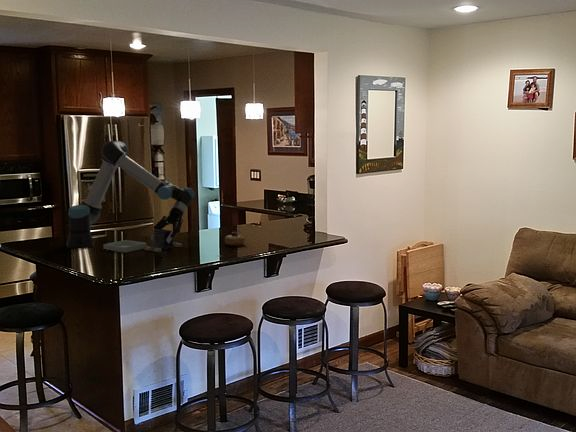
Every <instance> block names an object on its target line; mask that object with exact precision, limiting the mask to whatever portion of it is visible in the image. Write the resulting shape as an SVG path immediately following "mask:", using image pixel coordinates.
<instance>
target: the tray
mask: <svg viewBox="0 0 576 432" xmlns="http://www.w3.org/2000/svg"><path fill="white" fill-rule="evenodd" d="M144 246H148V245H147V242H144V241H143V242H142V241H135V240H130V239H129V240H128V239H125V240H124V239H123V240H120V241H115V242H108V243H105V244H103V250H104V249H106V250H105V251H109V250H111V252H115V253H116V252H118V253H124V254H126V253H131V252H135V251H140V250H144Z"/></svg>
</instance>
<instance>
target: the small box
mask: <svg viewBox="0 0 576 432" xmlns="http://www.w3.org/2000/svg"><path fill="white" fill-rule="evenodd" d="M171 231H172V230H168V229H165V228H164V229H158V230H155V229H153V232H154V241H153V247H156V248H162V251H168V250H173V248H174V246H173V243H174V242H173V241H174V237H173V238H172V240H171V241H170V243H168V242H167V241H166V239H167V238H168V236H169V234H170V233H171Z"/></svg>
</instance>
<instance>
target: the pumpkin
mask: <svg viewBox="0 0 576 432" xmlns="http://www.w3.org/2000/svg"><path fill="white" fill-rule="evenodd" d="M237 231H238V232H239V230H238V229H236V230H235V231H232V232H231V234H227V235H226V236H225V237H224V243H225V244H226V245H227V246H230V247H240V246H241V245H242V246H243V245H244V244H245V241H246V237H245V236H244V235H239V234H238V232H237ZM242 246H241V247H242Z"/></svg>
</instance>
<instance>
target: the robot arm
mask: <svg viewBox="0 0 576 432" xmlns="http://www.w3.org/2000/svg"><path fill="white" fill-rule="evenodd" d="M128 148H129V147H128V146H127V144H125V143H124V142H123V141H120V140H112V141H111V140H110V141H106V142H105V143H104V144H103V145H102V147H101V150H100V153H101V161H102V163H101V166H100V168H99V170H98V172H97V174H96V177H95V178H94V181H93V183H92V186H91V188H90V191H89V193H88V195H87V197H86V198H84V199H83V200H82V202H81V203H80V204H76V205H72V206H70V207H69V208H68V213H67V214H68V232H69V233H68V237H67V241H66V248H68V249H75V250H78V248H79V249H88V248H87V247H89V248H92V246H93V247H95V241H94V237H93V236H92V233H91V232H92V231H91V225H93V224H95V223H96V222H97V221H98V220H99V219H100V217H101V210H102V208H103V206H102V201H103V199H104V198H105V195H106V193H107V191H108V189H109V187H110V184H111V182H112V180H113V177H114V175H115V173H116V170H117V169H118V168H120V169H122V170H123V171H125V173H127V174H128V175H130V176H131V177H132V178H134V179H136V180H137V181H138V182H139V183H141V184H143V186H145V187H147V188H148V189H150V190H151V192H152V191H153V192H154V193H155V194H156V195H157V197H158V198H159V199H160V200H164V201H165V200H169V199H173V200H175V203H174V204H173V206H172V207H171V209H170V211H169V213H168V215H167V216H166V215H163V216H162V218H161V219H160V220H159V221H158V222H156V224H155V225H154V226H153V230H158V229H163V228H164V229H165V228H166V227H167V226H169V225H172V230H170V231H171V233H170V234H169V236H168V238H167V239H166V241H167V242H168V243H170V241H171V240H172V238H173V239H174V238H175V236H176V234H180V232H181V228H182V224H183V222H184V219H183V216H184V214H185V212H186V211H187V209H188V207H189V206H190V204H191V203H192V201H193V199H194V197H195V195H196V194H195V191H194V190H193V189H192V188H190V187H184V188H181V187H179V186H177V185H175V184H173V183H172V182H168V181H167V180H165V181H162V179H159V178H158V177H157V176H155V175H154V174H152V173H151V172H150V171H148V170H147V169H145V168H144V167H143V166H142V165H140V164H138V163H137V162H136V161H135V160H133V159H132V158H130V157H129V156H128V155H129V149H128ZM150 239H151V240H152V242H154V231H153V233H152V235H151V237H150Z"/></svg>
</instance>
